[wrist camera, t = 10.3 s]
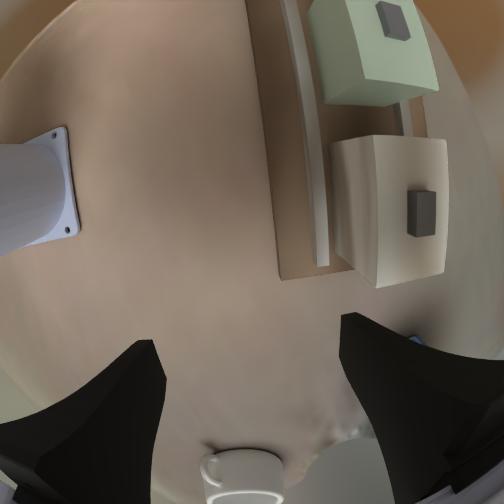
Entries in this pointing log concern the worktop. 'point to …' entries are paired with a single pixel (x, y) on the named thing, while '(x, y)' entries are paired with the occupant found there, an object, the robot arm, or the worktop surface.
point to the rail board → (290, 136)
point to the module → (370, 52)
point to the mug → (243, 477)
